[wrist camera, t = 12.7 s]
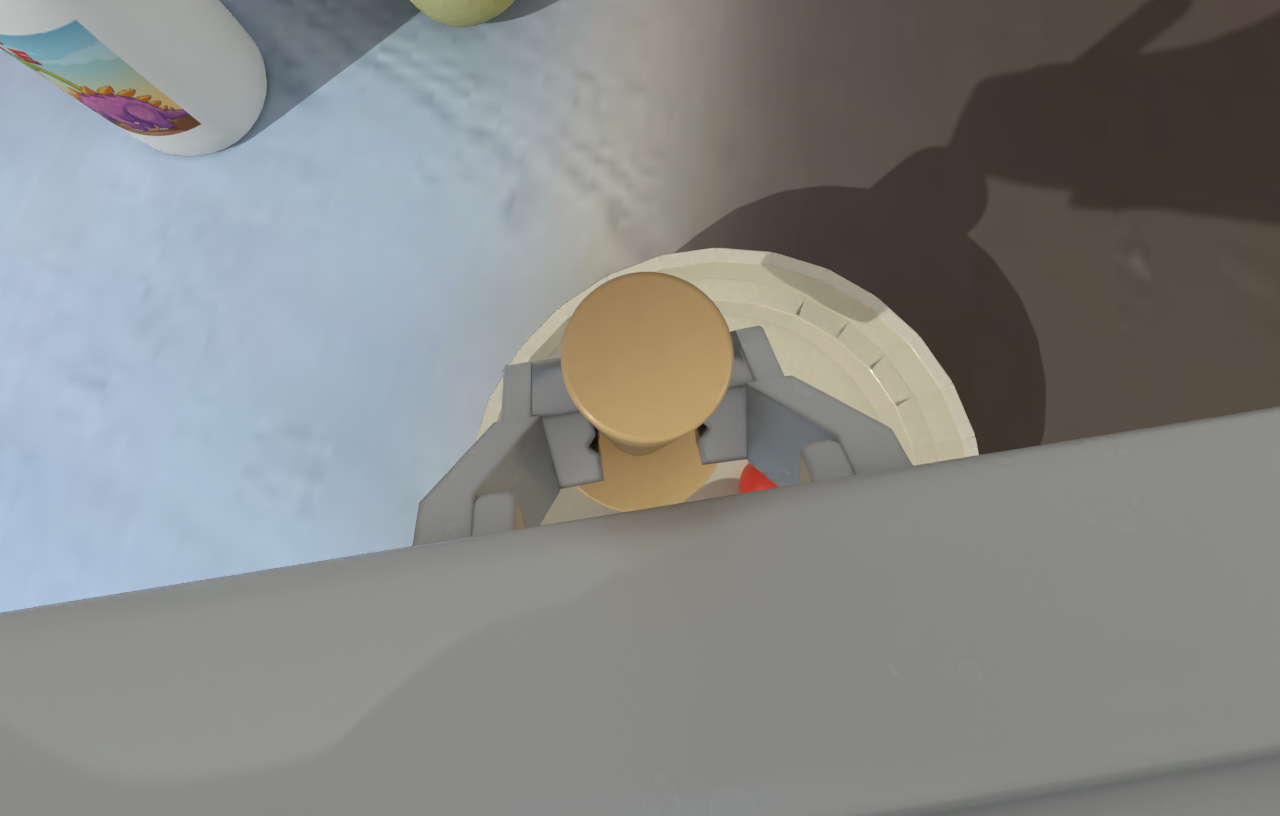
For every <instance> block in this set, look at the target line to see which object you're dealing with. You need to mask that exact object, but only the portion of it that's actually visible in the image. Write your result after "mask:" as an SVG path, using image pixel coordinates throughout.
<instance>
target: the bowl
mask: <svg viewBox="0 0 1280 816" xmlns="http://www.w3.org/2000/svg"><path fill="white" fill-rule="evenodd" d="M636 272H658V273H665V274H669V275H673V276H676V277H678V278H681V279H683V280H685V281H687V282H689V283H691V284H693V285H694V286H696V287H697V288H698V289H700V290H701V291H702V292H704V293H705V294H706V295H707V296H708V297H709V298H710V299H711V300H712V301H713V302H714V304H715V305H716V306H717V307H718V309H719V310H720V312H721V314H722V315H723V317H724V319H725V321H726V323H727V326H728V328H729V331H730V332H731V331H734V330H738V329H743V328H748V327H754V326H761V327H762V328H763V329H764V332H765V334H766V336H767V338H768V340H769V343H770V345H771V347H772V349H773V352H774V354H775V356H776V358H777V360H778V363H779V365H780V367H781V369H782V372H783V374H784V376H791V375H792V376H794V377H796V378H798V379H800V380H802V381H804V382H806V383H807V384H809V385H811V386H813V387H815V388H817V389H819V390H821V391H822V392H824V393H826V394H828V395H830V396H832V397H834V398H836V399H838V400H839V401H841V402H843V403H845V404H847V405H849V406H851V407H853V408H854V409H856V410H858V411H860V412H862V413H864V414H866V415H868V416H869V417H871V418H873V419H875V420H877V421H879V422H881V423H883V424H884V425H886V426H888V427H890V428H892V430H893V432H894V434H895V435H896V437H897V439H898V441H899V442H900V444H901V446H902V448H903V449H904V451H905V453H906V454H907V456H908V458H909V460H910V461H911V463H912V465H913V466H914V465H920V464H926V463H932V462H939V461H945V460H951V459H957V458H964V457H970V456H976V455H979V453H978V447H977V442H976V437H975V434H974V431H973V429H972V427H971V424H970V422H969V419H968V417H967V415H966V412H965V410H964V408H963V405H962V403H961V401H960V398H959V396H958V394H957V391H956V389H955V386H954V384H953V383H952V381H951V379H950V378H949V376H948V375H947V374H946V372H945V371H944V369H943V368H942V367H941V365H940V364H939V362H938V361H937V360H936V358H935V357H934V355H933V354H932V353H931V351H930V350H929V348H928V347H927V346H926V344H925V343H924V341H923V340H922V339H921V337H920V336H918V334H917V333H916V332H915V331H914V330H913V329H912V328H911V327H909V326H908V325H907V324H906V323H905V322H904V321H903V320H902V319H901V318H899V317H898V316H897V315H896V314H895V313H894V312H893V311H892V310H891V309H890V308H888V307H887V306H886V305H885V304H884V303H883V302H882V301H881V300H880V299H878V298H877V297H876V296H875V295H873V294H871V293H869V292H868V291H866V290H864V289H862V288H861V287H859V286H857V285H855V284H853V283H852V282H850V281H848V280H846V279H845V278H843V277H841V276H839V275H838V274H836V273H834V272H832V271H831V270H829V269H826V268H824V267H820V266H817V265H814V264H811V263H807V262H804V261H801V260H797V259H794V258H791V257H788V256H784V255H781V254H778V253H775V252H773V253H772V252H767V251H755V250H742V249H729V248H715V247H714V248H707V249H700V250H694V251H687V252H680V253H673V254H666V255H660V256H657V257H654V258H652V259H649V260H646V261H644V262H641V263H639V264H636V265H633V266H631V267H628V268H625V269H623V270H620V271H618V272H615V273H612V274H610V275H608V276H606V277H604V278H602V279H601V280H599V281H598V282H596V283H595V284H593V285H592V286H590V287H589V288H587V289H586V290H584V291H583V292H581V293H580V294H578V295H577V296H575V297H574V298H572V299H571V300H569V301H568V302H566V303H565V304H563V305H562V306H560V308H558V309H557V310H556V311H555V312H554V313H553V314H552V315H551V316H550V317H549V318H548V319H547V320H546V321H545V322H544V323H543V324H542V325H541V326H540V328H539V329H538V330H537V331H536V332H535V333H534V334H533V335H532V336H531V337H530V338H529V339H528V340H527V341H526V342H525V343H524V344H523V345H522V346H521V347H520V349H519V350H518V352H517V353H516V355H515V357H514V358H513V360H512V362H511V363H510V365H512V364H518V363H525V362H533V361H538V360H546V359H553V358H561V346H562V339H563V336H564V332H565V329H566V327H567V324H568V322H569V319H570V318H571V316H572V314H573V313H574V311H575V309H576V308H577V307H578V305H579V304H580V303H581V301H582V300H583V299H584V298H585V297H586V296H587V295H588V294H589V293H591V292H592V291H593V290H594V289H596V288H597V287H598V286H600V285H602V284H603V283H605V282H607V281H609V280H611V279H614V278H616V277H618V276H622V275H625V274H629V273H636ZM502 390H503V377H502V378H501V380H500V382H499V383H498V385H497V387H496V388H495V390H494V392H493V393H492V395H491V397H490V399H489V401H488V404H487V407H486V411H485V414H484V417H483V420H482V423H481V426H480V429H479V432H478V435H477V438H476V441H477V440H478V439H479V438H480V437H481V436H482V435H483V433H484V432H485V431H486V430H487V429H488V428H489V427H490V426H491V425H492V424H493V423H494V422H499V421H501V412H502ZM476 441H475V442H476ZM748 463H749V462H748V461H747V459H744V460H737V461H729V462H722V463H718V464H717V466H716V468H715V470H714V472H713V473H712V475H711V476H710V477H709V479H708V480H707V481H706V483H705V484H704V485H703V486H702V487H701V488H700V489H699V490H698V491H697V492H695V493H694V494H693V495H691V496H690V497H689V498H687V499H686V500H684V501H682V502H681V503H684V502H691V501H697V500H703V499H709V498H715V497H722V496H728V495H734V494H740V489H739V482H740V476H741V474H742V471H743V469H744V468H745V466H746V465H747V464H748ZM559 490H560V492H559V494H558V496H557V497H556V499H555V501H554V502H553V504H552V506H551V507H550V509H549V511H548V512H547V514H546V516H545V517H544V519H543V521H542V522H541V524H540V526H541V525H548V524H554V523H560V522H566V521H572V520H579V519H585V518H591V517H597V516H604V515H610V514H616V513H622V512H621V511H617V510H613V509H610V508H607V507H605V506H602V505H600V504H598V503H596V502H595V501H593V500H591V499H589V498H588V497H587V496H585V495H584V494H583V493H581V492H580V491H579V490H578V489H577V488H576V487H575V486H574V487H568V488H563V489H559Z"/></svg>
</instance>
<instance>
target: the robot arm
mask: <svg viewBox="0 0 1280 816" xmlns="http://www.w3.org/2000/svg"><path fill="white" fill-rule="evenodd" d="M730 334H731V338H732V343H733V349H734V365H733V374H732V378H731V381H730V385H729V387H728V390H727V392H726V395H725V397H724V398H723V400H722V402H721V404H720V405H719V407H718V408H717V409H716V411H715V412H714V413H713V414H712V415H711V416H710V417H709V418H708V419H707V420H706V421H705V422H704V423H703V424H702V425H700V426H699V427H698V428H697V429H695V439H696V444H697V447H698V451H699V455H700V458H701V462H702V465H707V464H714V463H722V462H729V461H737V460H744V459H747V461H748V462H749V463H750V464H752V465H753V466H754V467H755V468H756V469H758V470H759V471H760V472H761V473H762V474H764V475H765V476H766V477H767V478H768V479H770V480H771V481H772V482H773V483H774V484H776V485H777V486H778V487H777V488H771V489H765V490H759V491H753V492H746V493H740V494H734V495H728V496H722V497H715V498H709V499H703V500H697V501H691V502H684V503H678V504H672V505H666V506H659V507H653V508H647V509H641V510H635V511H628V512H622V513H616V514H610V515H604V516H597V517H591V518H585V519H579V520H572V521H566V522H560V523H554V524H548V525H541V526H540V524H541V522H542V521H543V519H544V517H545V516H546V514H547V512H548V511H549V509H550V507H551V506H552V504H553V502H554V501H555V499H556V497H557V496H558V494H559V492H560V490H559V489H563V488H568V487H574V486H579V485H584V484H590V483H595V482H600V481H604V472H603V462H602V454H601V449H600V443H599V439H600V435H599V430H598V429H597V428H596V427H595V426H594V425H593V424H591V423H590V422H589V421H588V420H587V419H586V418H585V417H584V416H583V415H582V414H581V412H580V411H579V410H578V408H577V407H576V406H575V404H574V402H573V401H572V399H571V397H570V396H569V393H568V391H567V388H566V386H565V383H564V379H563V375H562V369H561V358H553V359H546V360H538V361H533V362H525V363H518V364H512V365H506V366H505V368H504V370H503V390H502V412H501V421H499V422H494V423H493V424H492V425H491V426H490V427H489V428H488V429H487V430H486V431H485V432H484V433H483V435H482V436H481V437H480V438H479V439H478V440H477V441H476V442H475V443H474V444H473V445H472V446H471V448H470V449H469V450H468V451H467V452H466V453H465V454H464V455H463V456H462V457H461V458H460V459H459V461H458V462H457V463H456V464H455V465H454V466H453V467H452V468H451V469H450V470H449V471H448V472H447V474H446V475H445V476H444V477H443V478H442V479H441V480H440V481H439V482H438V483H437V484H436V485H435V487H434V488H433V489H432V490H431V491H430V492H429V493H428V494H427V495H426V496H425V497H424V498H423V500H422V501H421V502H420V503H419V508H418V515H417V521H416V527H415V533H414V540H413V546H411V547H405V548H398V549H392V550H386V551H380V552H374V553H367V554H361V555H355V556H349V557H342V558H336V559H330V560H324V561H318V562H311V563H305V564H299V565H293V566H287V567H280V568H274V569H268V570H262V571H256V572H249V573H243V574H237V575H231V576H225V577H218V578H212V579H206V580H200V581H194V582H187V583H181V584H175V585H169V586H162V587H156V588H150V589H144V590H138V591H131V592H125V593H119V594H113V595H107V596H100V597H94V598H88V599H82V600H76V601H69V602H63V603H57V604H51V605H45V606H38V607H32V608H26V609H20V610H14V611H7V612H1V613H0V816H1280V406H1279V407H1273V408H1267V409H1261V410H1255V411H1249V412H1242V413H1236V414H1230V415H1224V416H1218V417H1212V418H1206V419H1200V420H1193V421H1187V422H1181V423H1175V424H1169V425H1162V426H1156V427H1150V428H1144V429H1138V430H1131V431H1125V432H1119V433H1113V434H1107V435H1100V436H1094V437H1088V438H1082V439H1076V440H1069V441H1063V442H1057V443H1051V444H1045V445H1038V446H1032V447H1026V448H1020V449H1014V450H1007V451H1001V452H995V453H989V454H982V455H976V456H970V457H964V458H957V459H951V460H945V461H939V462H932V463H926V464H920V465H914V466H913V465H912V463H911V461H910V460H909V458H908V456H907V454H906V453H905V451H904V449H903V448H902V446H901V444H900V442H899V441H898V439H897V437H896V435H895V434H894V432H893V430H892V428H890V427H888V426H886V425H884V424H883V423H881V422H879V421H877V420H875V419H873V418H871V417H869V416H868V415H866V414H864V413H862V412H860V411H858V410H856V409H854V408H853V407H851V406H849V405H847V404H845V403H843V402H841V401H839V400H838V399H836V398H834V397H832V396H830V395H828V394H826V393H824V392H822V391H821V390H819V389H817V388H815V387H813V386H811V385H809V384H807V383H806V382H804V381H802V380H800V379H798V378H796V377H794V376H792V375H791V376H784V374H783V372H782V369H781V367H780V365H779V363H778V360H777V358H776V356H775V354H774V352H773V349H772V347H771V345H770V343H769V340H768V338H767V336H766V334H765V332H764V329H763V328H762V327H761V326H754V327H748V328H743V329H738V330H734V331H731V332H730Z"/></svg>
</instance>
